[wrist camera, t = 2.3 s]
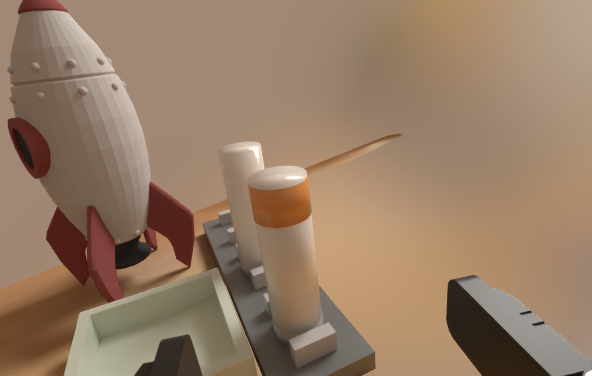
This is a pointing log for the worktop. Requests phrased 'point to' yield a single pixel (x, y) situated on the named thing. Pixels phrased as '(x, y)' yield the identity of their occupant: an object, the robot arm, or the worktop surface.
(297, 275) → the cylinder
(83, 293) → the worktop surface
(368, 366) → the holder
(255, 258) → the cylinder
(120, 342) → the tray
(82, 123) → the toy
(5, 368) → the worktop surface
